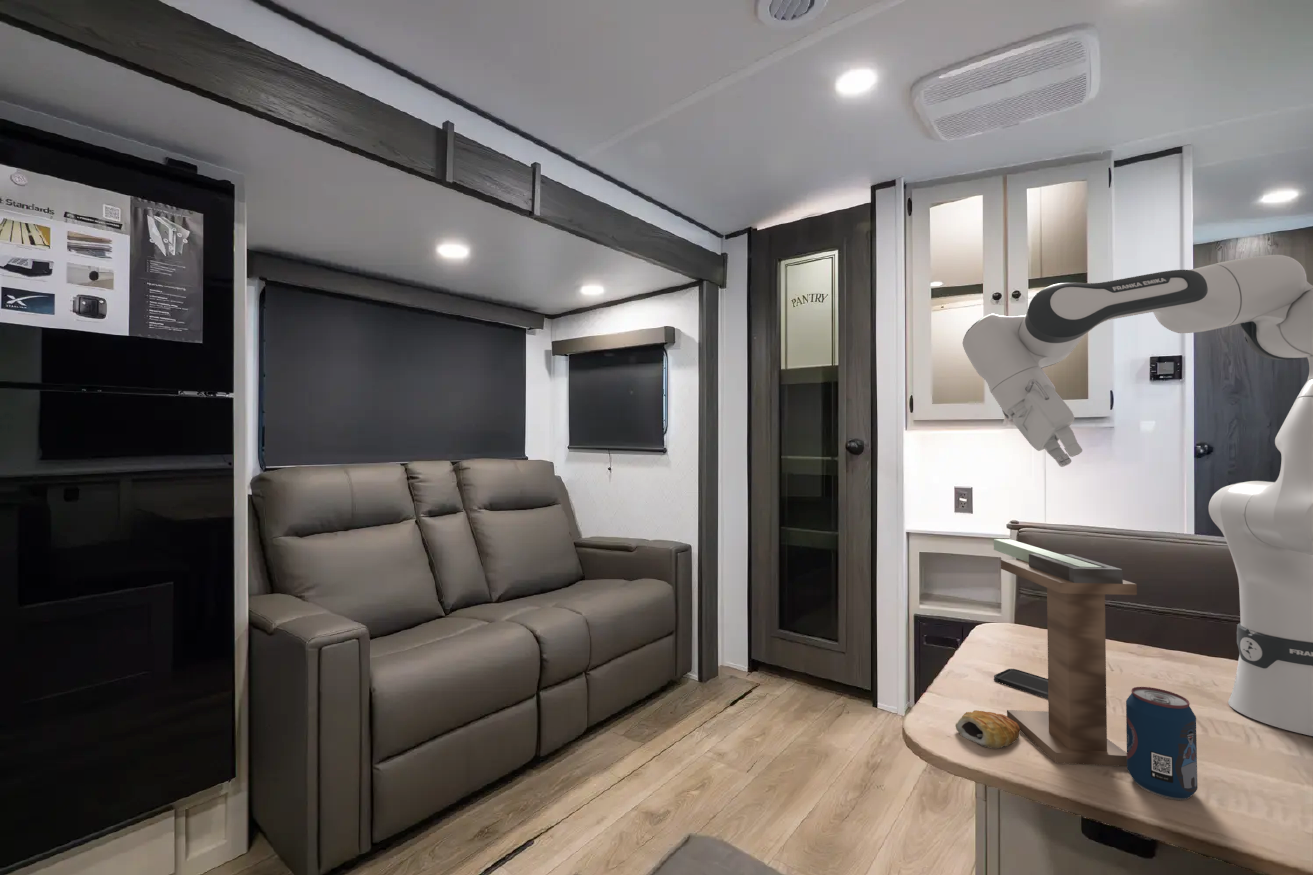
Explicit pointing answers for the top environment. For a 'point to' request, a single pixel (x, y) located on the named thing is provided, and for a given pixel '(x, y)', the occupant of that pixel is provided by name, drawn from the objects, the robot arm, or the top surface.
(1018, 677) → the phone
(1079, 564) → the slat
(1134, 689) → the soda can
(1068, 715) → the stand
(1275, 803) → the top surface
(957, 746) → the top surface
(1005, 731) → the pastry
